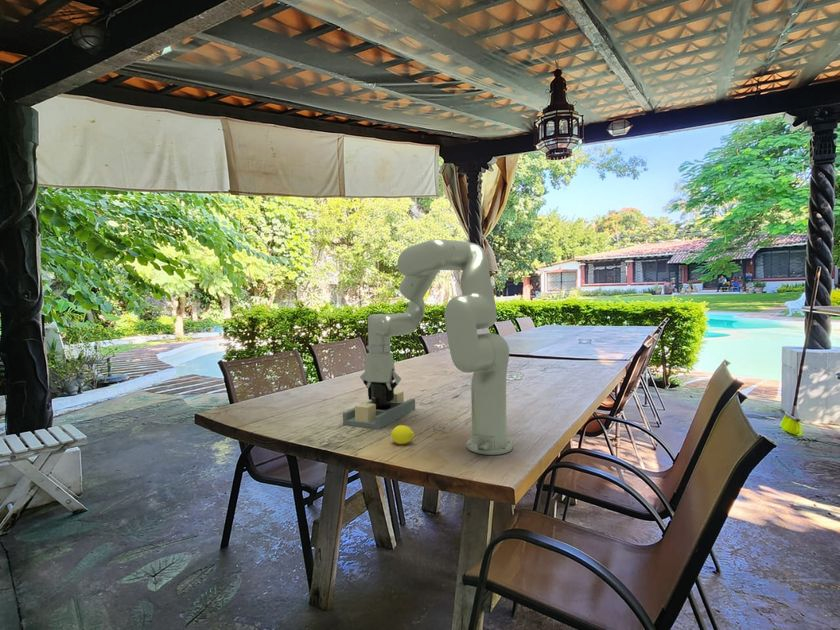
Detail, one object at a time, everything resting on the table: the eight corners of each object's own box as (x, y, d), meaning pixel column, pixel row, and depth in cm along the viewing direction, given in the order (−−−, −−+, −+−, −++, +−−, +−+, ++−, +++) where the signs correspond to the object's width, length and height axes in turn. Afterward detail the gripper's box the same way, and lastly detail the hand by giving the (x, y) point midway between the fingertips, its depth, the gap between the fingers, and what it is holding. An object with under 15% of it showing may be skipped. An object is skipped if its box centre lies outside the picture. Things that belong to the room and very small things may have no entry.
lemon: (389, 447, 127) (386, 429, 127) (395, 441, 132) (392, 423, 132) (412, 446, 125) (409, 427, 124) (418, 440, 130) (415, 421, 130)
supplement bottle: (368, 410, 155) (366, 376, 154) (377, 405, 161) (376, 372, 160) (385, 411, 152) (384, 376, 151) (394, 406, 158) (393, 373, 158)
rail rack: (379, 429, 142) (378, 409, 142) (343, 424, 148) (342, 405, 148) (415, 409, 165) (414, 392, 165) (382, 406, 171) (382, 389, 171)
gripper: (352, 349, 156) (354, 400, 157) (396, 351, 148) (397, 404, 149) (364, 347, 163) (365, 395, 163) (406, 348, 155) (407, 399, 156)
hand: (381, 399), depth 156 cm, fingers closed on supplement bottle, 6 cm apart
